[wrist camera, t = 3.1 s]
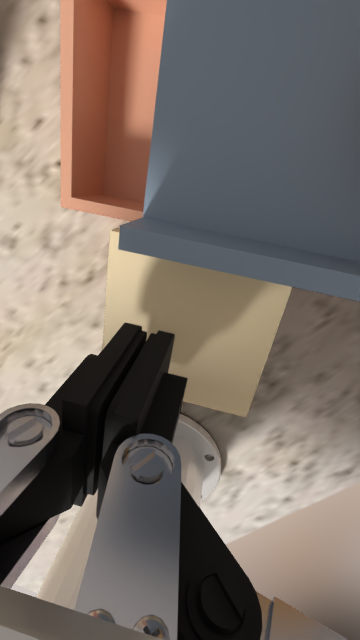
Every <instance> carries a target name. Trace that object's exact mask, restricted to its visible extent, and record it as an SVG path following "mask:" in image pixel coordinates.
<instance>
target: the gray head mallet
mask: <svg viewBox="0 0 360 640" xmlns="http://www.w3.org/2000/svg"><path fill="white" fill-rule="evenodd" d="M292 287H294V288H299V289H303V290H308V291H313V292H317V293H322V294H327V295H331V296H336V297H340V298H345V299H350V300H354V301H359V302H360V0H167V3H166V12H165V21H164V30H163V39H162V48H161V57H160V66H159V75H158V84H157V93H156V102H155V111H154V120H153V129H152V138H151V147H150V156H149V165H148V174H147V182H146V191H145V200H144V209H143V217H142V218H140V219H137V220H134V221H131V222H129V223H126V224H123V225H121V226H120V228H116V229H113V230H111V231H110V245H109V259H108V274H107V288H106V303H105V318H104V332H103V347H102V350H103V349H104V348H105V346H106V345H107V344H108V343H109V341H110V340H111V339H112V338H113V336H114V335H115V334H116V333H117V331H118V330H119V329H120V328H121V326H122V325H123V324H124V323H125V322H126V323H130V324H135V325H139V326H142V331H145V332H147V339H148V337H149V336H150V334H151V333H154V334H157V332H158V330H160V331H164V332H168V333H173V334H175V338H174V344H173V349H172V355H171V360H170V365H169V371H168V373H170V374H174V375H178V376H182V377H186V378H188V380H187V384H186V389H185V393H184V398H183V402H187V403H191V404H195V405H199V406H203V407H207V408H211V409H215V410H219V411H222V412H226V413H230V414H234V415H238V416H242V417H247V414H248V412H249V409H250V406H251V403H252V400H253V397H254V395H255V392H256V389H257V386H258V383H259V381H260V378H261V375H262V372H263V369H264V366H265V364H266V361H267V358H268V355H269V352H270V349H271V347H272V344H273V341H274V338H275V335H276V332H277V330H278V327H279V324H280V321H281V318H282V315H283V313H284V310H285V307H286V304H287V301H288V298H289V296H290V293H291V290H292ZM147 339H146V341H147Z"/></svg>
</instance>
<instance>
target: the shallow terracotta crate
mask: <svg viewBox="0 0 360 640" xmlns="http://www.w3.org/2000/svg"><path fill="white" fill-rule="evenodd" d="M166 3H167V0H61V207H64V208H69V209H74V210H79V211H84V212H89V213H93V214H98V215H103V216H108V217H113V218H117V219H122V220H127V221H134V220H137V219H140V218H142V217H143V209H144V200H145V191H146V182H147V174H148V165H149V156H150V147H151V138H152V129H153V120H154V111H155V102H156V93H157V84H158V75H159V66H160V57H161V48H162V39H163V30H164V21H165V12H166Z"/></svg>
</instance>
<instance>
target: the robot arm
mask: <svg viewBox="0 0 360 640" xmlns="http://www.w3.org/2000/svg"><path fill="white" fill-rule="evenodd" d="M174 338H175V334H173V333H168V332H164V331H160V330H158V332H157V334H154V333H151V334H150V336H149V337H148V339H147V332H145V331H142V326H139V325H135V324H130V323H126V322H125V323H124V324H123V325H122V326H121V328H120V329H119V330H118V331H117V333H116V334H115V335H114V336H113V338H112V339H111V340H110V341H109V343H108V344H107V345H106V346H105V348H104V349H103V350H102V351H101V353H100V354H99V355H98V356H97V355H93V354H90V355H88V356H87V357H86V358H85V359H84V360H83V362H82V363H81V364H80V365H79V366H78V367H77V369H76V370H75V371H74V372H73V373H72V374H71V375H70V377H69V378H68V379H67V380H66V381H65V382H64V384H63V385H62V386H61V387H60V388H59V389H58V391H57V392H56V393H55V394H54V395H53V396H52V397H51V399H50V400H49V401H48V402H47V403H46V404H45V405H42V404H31V403H29V404H23V405H18V406H15V407H12V408H10V409H7V410H6V411H4V412H2V413H1V414H0V640H347V639H346V638H344V637H342V636H340V635H339V634H337V633H335V632H334V631H332V630H330V629H329V628H327V627H325V626H324V625H322V624H320V623H319V622H317V621H315V620H314V619H312V618H310V617H308V616H307V615H305V614H303V613H302V612H300V611H298V610H297V609H295V608H293V607H292V606H290V605H288V604H286V603H285V602H283V601H281V600H280V599H278V598H276V597H274V598H273V600H272V601H271V600H269V599H268V598H266V597H264V596H263V595H261V594H259V593H257V592H256V591H255V589H254V587H253V586H252V584H251V582H250V580H249V578H248V577H247V575H246V574H245V572H244V571H243V570H242V568H241V567H240V565H239V564H238V562H237V561H236V559H235V558H234V557H233V555H232V554H231V552H230V551H229V549H228V548H227V547H226V545H225V544H224V542H223V541H222V539H221V538H220V536H219V535H218V534H217V532H216V531H215V529H214V528H213V526H212V525H211V523H210V522H209V521H208V519H207V518H206V516H205V515H204V513H203V512H202V511H201V509H200V501H202V500H203V499H205V498H206V497H208V496H209V495H210V494H211V493H212V492H213V491H214V490H215V488H216V486H217V484H218V482H219V479H220V474H221V457H220V453H219V450H218V448H217V445H216V443H215V441H214V440H213V439H212V437H211V436H210V435H209V433H208V432H207V431H206V430H204V429H203V428H202V427H201V426H200V425H199V424H198V423H196V422H195V421H193V420H192V419H190V418H189V417H186V416H184V415H182V414H180V411H181V407H182V402H183V398H184V393H185V389H186V384H187V380H188V378H186V377H182V376H178V375H174V374H170V373H168V371H169V365H170V360H171V355H172V349H173V344H174ZM146 339H147V341H146ZM73 504H74V505H78V506H80V508H79V510H78V512H77V514H76V516H75V518H74V520H73V523H72V525H71V527H70V529H69V531H68V533H67V535H66V537H65V539H64V541H63V543H62V545H61V547H60V549H59V551H58V553H57V555H56V557H55V560H54V562H53V564H52V566H51V568H50V570H49V572H48V574H47V576H46V578H45V580H44V582H43V584H42V586H41V588H40V590H39V592H38V594H37V596H36V597H32V596H29V595H26V594H23V593H20V592H17V591H14V590H11V587H12V586H13V584H14V583H15V581H16V580H17V579H18V577H19V576H20V574H21V573H22V572H23V570H24V569H25V567H26V566H27V564H28V563H29V562H30V560H31V559H32V557H33V556H34V554H35V553H36V552H37V550H38V549H39V547H40V546H41V544H42V543H43V542H44V540H45V539H46V537H47V536H48V534H49V533H50V532H51V530H52V529H53V527H54V526H55V524H56V522H57V520H58V518H59V514H60V513H62V512H64V511H67V510H69V509H71V507H72V505H73Z"/></svg>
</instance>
